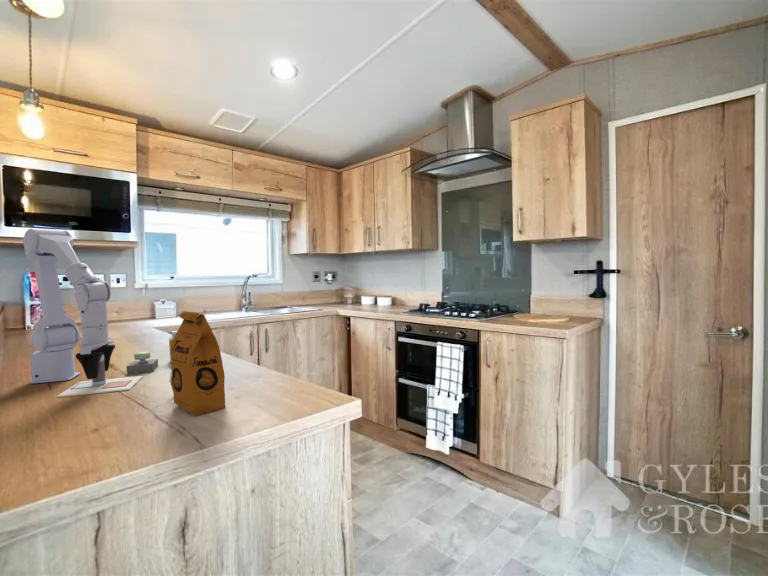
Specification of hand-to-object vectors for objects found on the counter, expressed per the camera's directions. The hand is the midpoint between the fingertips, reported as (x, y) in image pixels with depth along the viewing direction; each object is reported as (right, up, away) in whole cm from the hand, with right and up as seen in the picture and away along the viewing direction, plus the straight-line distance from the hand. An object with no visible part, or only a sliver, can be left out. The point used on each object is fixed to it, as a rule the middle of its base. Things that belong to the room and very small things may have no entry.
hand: (98, 374), depth 108 cm
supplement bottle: (+7, -2, +29) cm, 30 cm away
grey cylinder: (0, -3, 0) cm, 3 cm away
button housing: (+2, -2, +17) cm, 17 cm away
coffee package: (+37, -4, -18) cm, 41 cm away
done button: (+2, -1, +16) cm, 17 cm away
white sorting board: (+2, -3, 0) cm, 4 cm away
